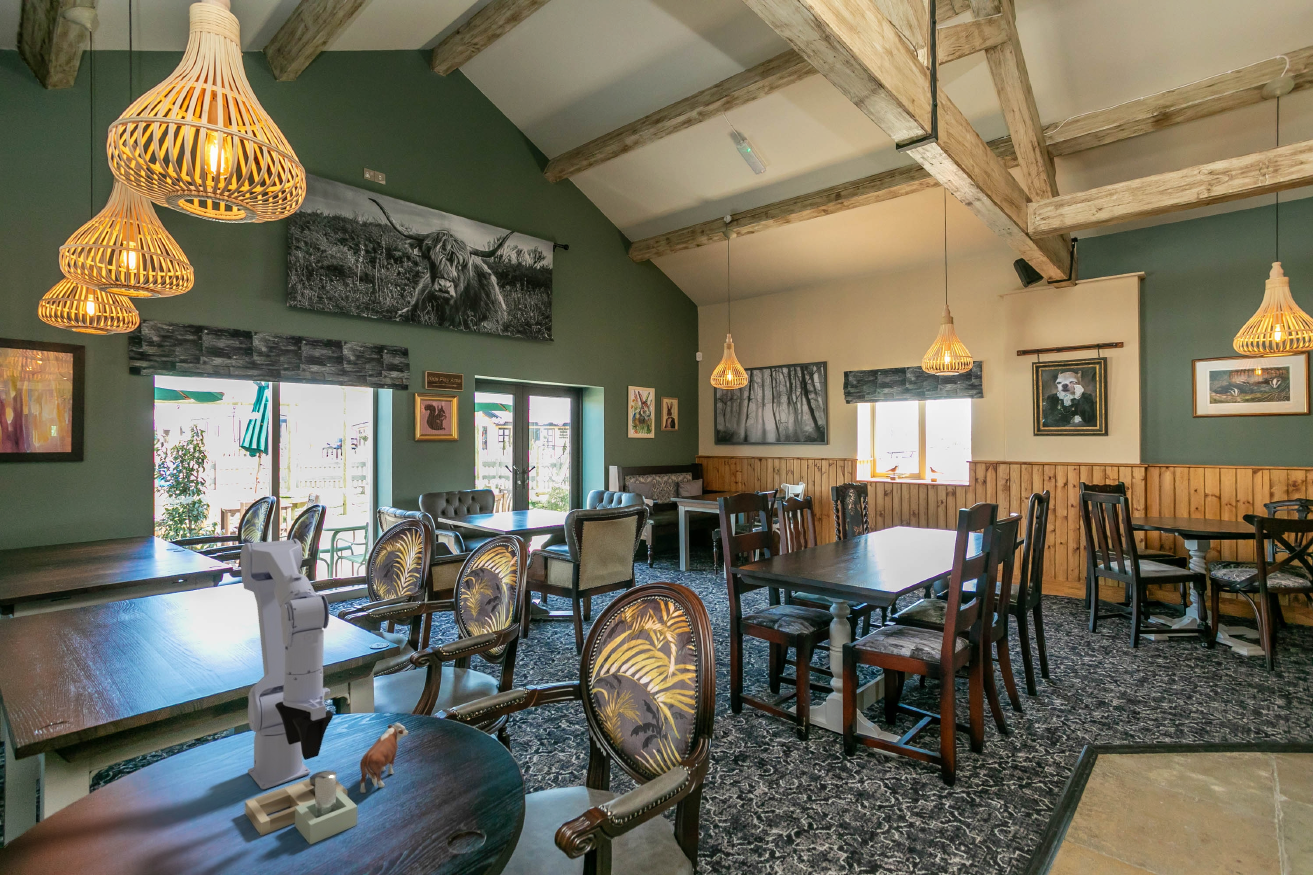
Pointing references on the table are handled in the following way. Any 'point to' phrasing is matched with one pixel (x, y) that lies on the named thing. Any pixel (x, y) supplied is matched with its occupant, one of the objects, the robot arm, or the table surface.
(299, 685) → the robot arm
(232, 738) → the table surface
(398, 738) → the bull figurine
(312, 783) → the round dark knob
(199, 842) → the table surface
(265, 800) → the socket block
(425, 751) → the table surface
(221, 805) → the table surface
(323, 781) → the silver metal cylinder
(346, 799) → the grey-green hollow square block
